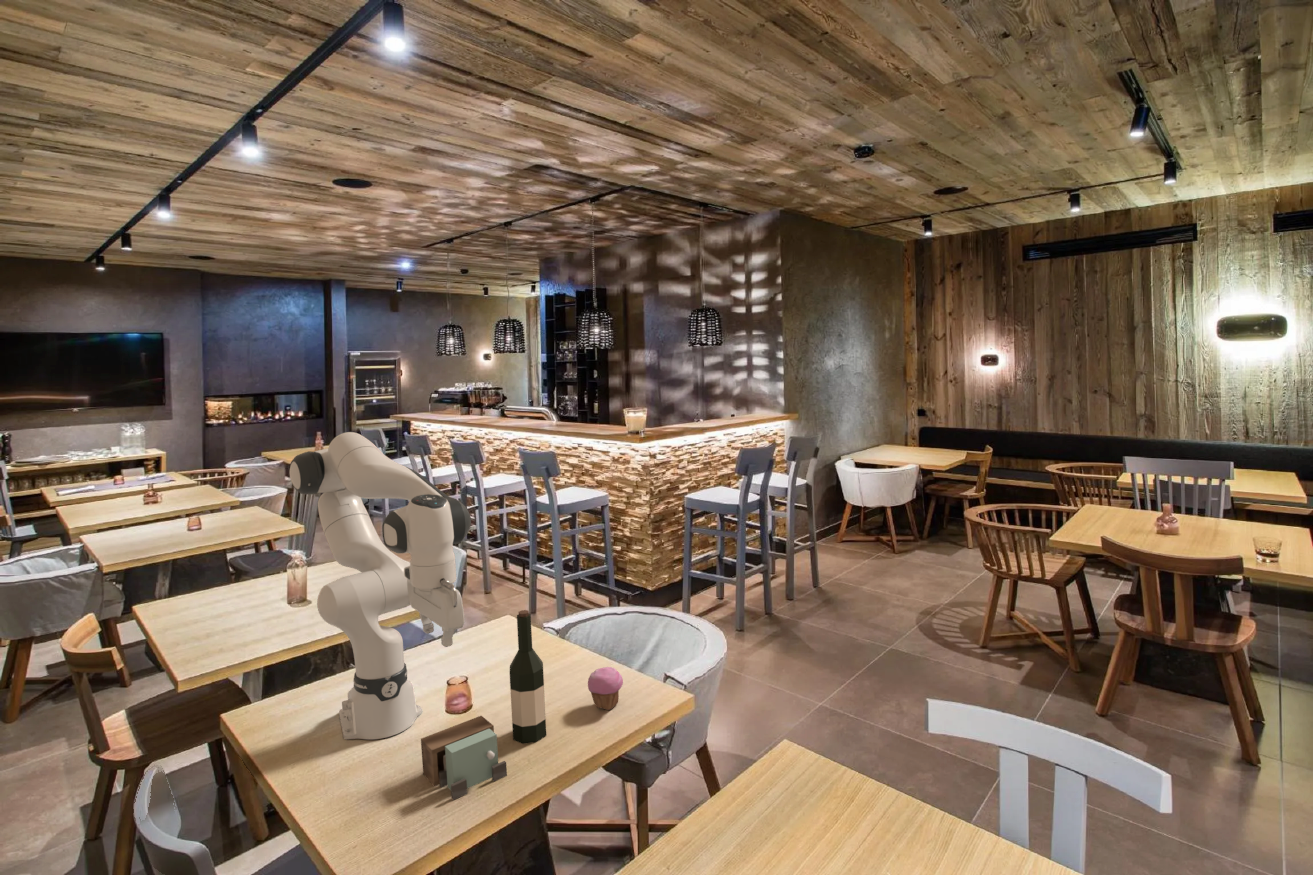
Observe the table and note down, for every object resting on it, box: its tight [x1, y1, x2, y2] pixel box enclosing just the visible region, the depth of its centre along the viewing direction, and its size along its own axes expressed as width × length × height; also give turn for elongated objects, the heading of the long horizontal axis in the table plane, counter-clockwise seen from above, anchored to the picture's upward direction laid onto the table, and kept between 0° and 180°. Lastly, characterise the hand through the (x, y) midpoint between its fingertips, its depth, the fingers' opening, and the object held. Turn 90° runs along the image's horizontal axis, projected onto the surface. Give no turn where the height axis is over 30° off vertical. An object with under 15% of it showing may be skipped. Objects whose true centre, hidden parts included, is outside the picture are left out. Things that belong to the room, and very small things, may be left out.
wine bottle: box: [509, 609, 547, 745], centre depth 158 cm, size 8×8×30 cm
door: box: [445, 729, 499, 791], centre depth 141 cm, size 5×10×9 cm, turn 131°
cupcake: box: [587, 666, 624, 711], centre depth 171 cm, size 9×9×10 cm
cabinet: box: [420, 715, 508, 801], centre depth 144 cm, size 13×14×8 cm
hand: (437, 638), depth 140 cm, fingers open, 8 cm apart
